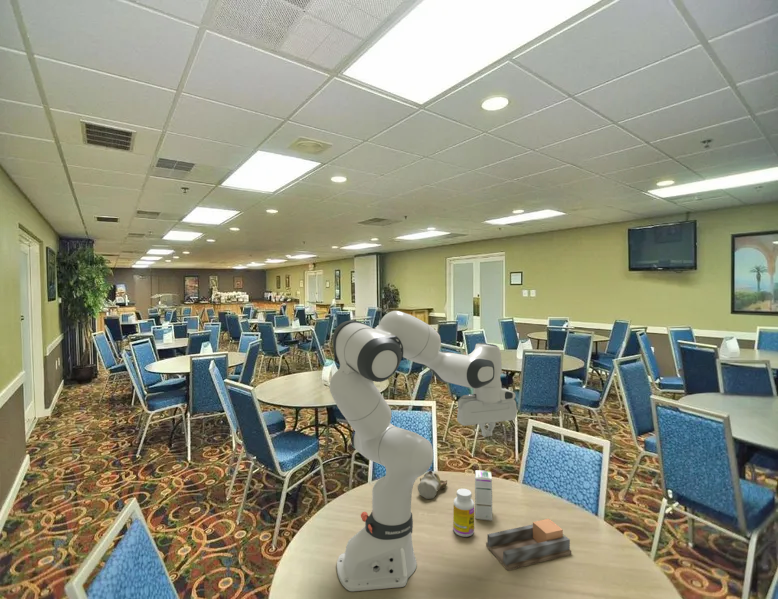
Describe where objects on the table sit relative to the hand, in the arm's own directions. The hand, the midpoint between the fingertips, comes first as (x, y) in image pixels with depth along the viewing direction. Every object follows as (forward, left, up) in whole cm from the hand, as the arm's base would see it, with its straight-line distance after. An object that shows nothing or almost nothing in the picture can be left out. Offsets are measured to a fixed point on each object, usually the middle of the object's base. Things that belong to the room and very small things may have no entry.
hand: (486, 435), depth 125 cm
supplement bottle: (-7, +2, -31) cm, 32 cm away
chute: (+7, -12, -31) cm, 34 cm away
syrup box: (+4, +8, -31) cm, 33 cm away
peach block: (+14, -12, -30) cm, 35 cm away
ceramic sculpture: (-7, +28, -32) cm, 43 cm away
